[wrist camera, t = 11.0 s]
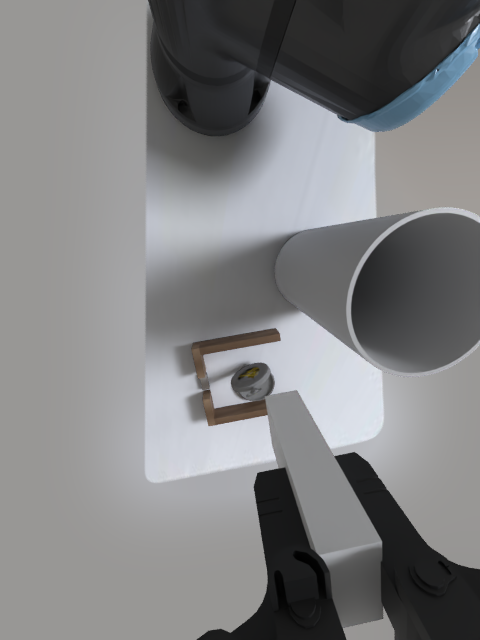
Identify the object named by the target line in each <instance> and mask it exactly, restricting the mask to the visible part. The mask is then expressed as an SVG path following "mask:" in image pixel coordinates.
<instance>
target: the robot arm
mask: <svg viewBox="0 0 480 640" xmlns="http://www.w3.org/2000/svg"><path fill="white" fill-rule="evenodd" d="M148 2H149V5H150V9H151V12H152V16H153V19H154V21H153V28H152V35H151V48H150V50H151V62H152V69H153V73H154V77H155V80H156V83H157V85H158V88H159V91H160V94H161V96H162V98H163V100H164V102H165V103H166V105H167V107H168V108H169V110H170V111H171V112H172V114H173V115H174V116H175V117H176V118H177V119H178V120H179V121H180V122H181V123H183V124H184V125H185V126H187V127H188V128H190V129H192V130H194V131H196V132H198V133H201V134H205V135H210V136H222V135H228V134H231V133H234V132H236V131H238V130H240V129H242V128H243V127H245V126H246V125H247V124H248V123H249V122H250V121H251V120H252V119H253V118H254V117H255V116H256V115H257V113H258V112H259V110H260V108H261V107H262V105H263V102H264V100H265V97H266V95H267V92H268V89H269V85H270V81H271V80H272V81H274V82H276V83H278V84H280V85H282V86H284V87H286V88H287V89H289V90H291V91H293V92H295V93H297V94H299V95H301V96H303V97H305V98H306V99H308V100H310V101H312V102H314V103H316V104H318V105H320V106H322V107H324V108H325V109H327V110H329V111H331V112H333V113H335V114H337V116H338V118H339V119H340V120H342V121H344V122H346V123H355V124H357V125H359V126H361V127H363V128H365V129H368V130H370V131H373V132H379V131H382V132H384V131H390V130H393V129H396V128H398V127H400V126H402V125H404V124H406V123H408V122H409V121H411V120H412V119H414V118H415V117H417V116H418V115H420V114H421V113H422V112H423V111H425V110H426V109H427V108H428V107H430V106H431V105H432V104H433V103H434V102H435V101H437V100H438V99H439V98H440V97H441V96H442V95H443V94H444V93H445V92H446V91H447V90H448V89H449V88H450V87H451V86H452V85H453V84H454V83H455V82H456V81H457V80H458V79H459V78H460V76H461V75H462V74H463V73H464V72H465V71H466V70H467V69H468V68H469V66H470V65H471V64H472V63H473V62H474V60H475V59H476V58H477V56H478V51H477V50H478V49H479V48H480V0H148ZM265 400H266V407H267V413H268V420H269V426H270V433H271V440H272V446H273V449H274V453H275V456H276V460H277V463H278V467H279V469H274V470H269V471H264V472H259V473H257V477H256V480H255V484H254V491H255V498H256V504H257V510H258V515H259V523H260V529H261V535H262V541H263V548H264V554H265V560H266V566H267V575H268V584H267V591H266V594H265V597H264V600H263V602H262V604H261V606H260V607H259V609H258V610H257V612H256V613H255V614H254V615H253V616H252V617H251V618H250V619H248V620H247V621H246V622H245V623H243V624H242V625H241V626H239V627H238V628H237V629H235V630H234V631H233V632H231V633H229V632H227V631H225V630H222V629H217V630H211V631H208V632H206V633H205V634H204V635H202V636H201V637H200V638H198V639H197V640H346V637H345V634H344V631H343V628H345V627H349V626H354V625H358V624H363V623H367V622H371V621H376V620H380V619H383V607H384V609H385V611H386V613H387V615H388V617H389V619H390V621H391V624H392V626H393V628H394V630H395V640H480V569H474V568H468V567H465V566H461V565H458V564H455V563H453V562H451V561H449V560H447V558H445V557H444V556H442V555H441V554H440V553H438V552H436V551H435V550H433V549H432V548H431V547H429V546H428V545H427V543H426V542H425V541H424V540H423V539H422V538H421V536H420V535H419V534H418V532H417V531H416V529H415V528H414V526H413V525H412V524H411V522H410V521H409V519H408V518H407V516H406V515H405V514H404V512H403V511H402V509H401V508H400V507H399V505H398V504H397V502H396V501H395V500H394V498H393V497H392V495H391V494H390V492H389V491H388V490H387V489H386V487H385V485H384V484H383V483H382V481H381V480H380V479H379V478H378V475H377V474H376V472H375V471H374V470H373V468H372V467H371V465H370V464H369V463H368V462H367V461H366V460H364V459H363V458H362V457H361V456H359V455H358V454H357V453H355V452H353V453H348V454H343V455H338V456H334V455H333V453H332V452H331V450H330V448H329V446H328V445H327V443H326V441H325V439H324V437H323V436H322V434H321V432H320V430H319V429H318V427H317V425H316V423H315V421H314V420H313V418H312V416H311V414H310V413H309V411H308V409H307V407H306V405H305V404H304V402H303V400H302V398H301V397H300V395H299V393H298V391H297V390H295V391H290V392H285V393H280V394H274V395H269V396H265Z"/></svg>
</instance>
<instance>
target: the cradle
mask: <svg viewBox="0 0 480 640" xmlns="http://www.w3.org/2000/svg"><path fill="white" fill-rule="evenodd" d="M276 341H281V340H280V333H279V332H278V331H277V329H276V328H274V329H268V330H263V331H257V332H251V333H246V334H240V335H235V336H229V337H223V338H218V339H212V340H206V341H201V342H195V343H193V345H192V349H191V350H192V354H193V359H194V363H195V368H196V372H197V377H198V379H200V381H201V385H202V390H205V391H203V404H204V408H205V413H206V417H207V422H208V426H213V425H218V424H223V423H229V422H234V421H239V420H244V419H249V418H255V417H260V416H265V415H268V413H267V407H266V400H265V399H264V400H260V401H253V402H248V403H243V404H237V405H232V406H227V407H222V408H216V409H214V405H213V401H212V396H211V391H210V390H206V389H209V388H210V386H209V382H208V377H207V372H206V367H205V363H204V358H203V355H204V354H210V353H215V352H221V351H226V350H232V349H237V348H243V347H248V346H254V345H260V344H265V343H271V342H276Z"/></svg>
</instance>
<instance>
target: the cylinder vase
mask: <svg viewBox="0 0 480 640" xmlns="http://www.w3.org/2000/svg"><path fill="white" fill-rule="evenodd" d="M275 280H276V284H277V287H278V289H279V291H280V292H281V294H282V295H283V296H284V298H285V299H286V300H288V301H289V302H290V303H291V304H293V305H294V306H295V307H297V308H298V309H299V310H301V311H302V312H303V313H305V314H306V315H307V316H309V317H310V318H311V319H312V320H314V321H315V322H316V323H318V324H319V325H320V326H322V327H323V328H324V329H326V330H327V331H328V332H330V333H331V334H332V335H334V336H335V337H336V338H337V339H339V340H340V341H341V342H343V343H344V344H345V345H347V346H348V347H349V348H351V349H352V350H353V351H355V352H356V353H357V354H359V355H360V356H361V357H362V358H364V359H365V360H366V361H368V362H369V363H370V364H372V365H373V366H374V367H376V368H378V369H380V370H382V371H384V372H386V373H389V374H392V375H397V376H403V377H419V376H426V375H430V374H434V373H437V372H440V371H443V370H445V369H447V368H449V367H451V366H453V365H455V364H456V363H458V362H460V361H462V360H463V359H464V358H466V357H467V356H468V355H470V354H471V353H472V352H473V351H474V350H475V349H477V348H478V347H479V346H480V216H478V215H476V214H474V213H472V212H469V211H466V210H463V209H458V208H450V207H449V208H448V207H446V208H445V207H442V208H433V209H427V210H421V211H415V212H409V213H403V214H397V215H391V216H386V217H380V218H374V219H368V220H362V221H356V222H350V223H344V224H338V225H332V226H327V227H321V228H315V229H309V230H305V231H302V232H300V233H298V234H296V235H294V236H293V237H292V238H290V239H289V240H288V241H287V242H286V243H285V245H284V246H283V247H282V249H281V250H280V252H279V254H278V257H277V260H276V264H275Z"/></svg>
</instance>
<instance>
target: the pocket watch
mask: <svg viewBox="0 0 480 640" xmlns="http://www.w3.org/2000/svg"><path fill="white" fill-rule="evenodd" d="M274 385H275V381H274V377H273V375H272V374H271V372H270V369H269V367H268V366H267V365H266V364H264V363H254V364H251V365H248V366H246V367H244V368H242V369H241V370H239V371H238V372H237V373H236V374H235V375H234V376H233V378H232V380H231V386H232V388H233V390H235V391H236V392H239V393H240V394H241V396H242V397H244V398H245V399H247V400H250V401H260V400H263V399H265V396H269V395H270V394H271V393H272V391H273V389H274Z"/></svg>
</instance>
